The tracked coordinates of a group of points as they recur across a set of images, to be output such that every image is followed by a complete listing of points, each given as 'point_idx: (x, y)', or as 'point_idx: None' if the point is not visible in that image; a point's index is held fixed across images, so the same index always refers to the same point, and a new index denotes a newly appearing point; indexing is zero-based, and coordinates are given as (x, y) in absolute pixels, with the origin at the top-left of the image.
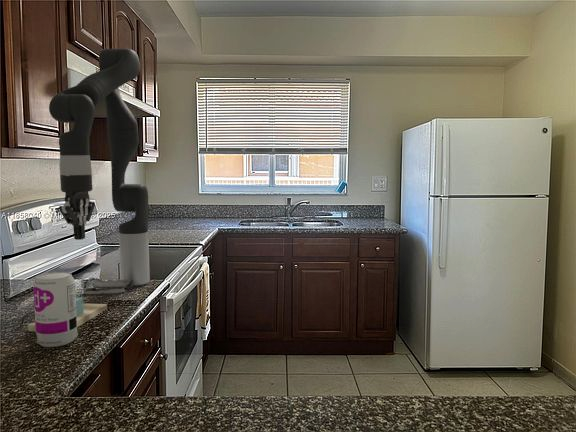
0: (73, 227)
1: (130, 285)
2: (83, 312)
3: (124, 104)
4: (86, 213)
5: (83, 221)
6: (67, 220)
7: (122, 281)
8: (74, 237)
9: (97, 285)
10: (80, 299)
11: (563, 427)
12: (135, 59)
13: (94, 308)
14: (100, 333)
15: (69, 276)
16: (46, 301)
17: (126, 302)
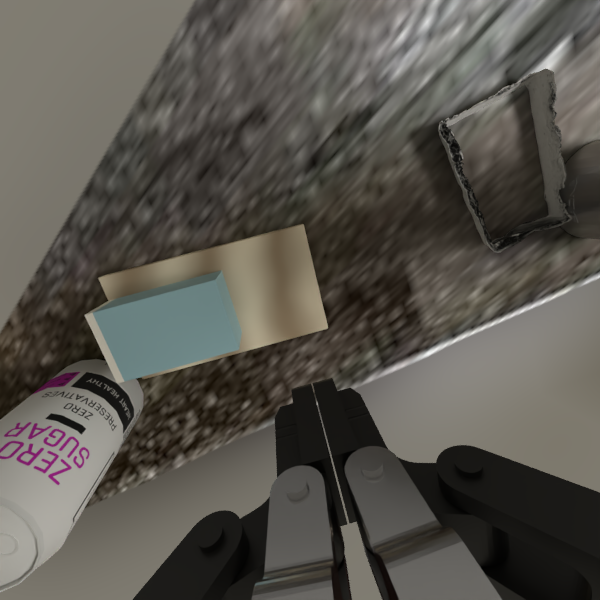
0: (278, 472)
1: (540, 222)
2: (241, 333)
3: None
4: None
5: (370, 563)
6: (161, 594)
7: (560, 182)
8: (280, 407)
9: (533, 92)
10: (226, 352)
11: None
12: None
13: (284, 327)
14: (184, 434)
15: (11, 584)
16: None
17: (396, 321)
